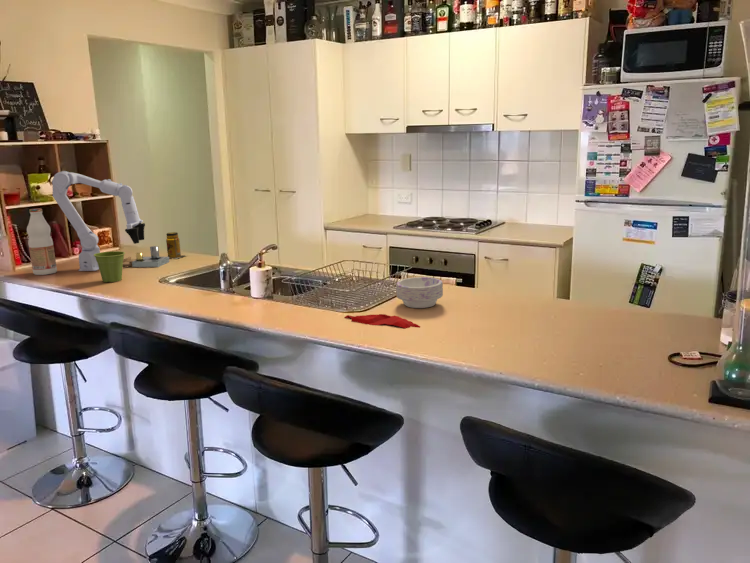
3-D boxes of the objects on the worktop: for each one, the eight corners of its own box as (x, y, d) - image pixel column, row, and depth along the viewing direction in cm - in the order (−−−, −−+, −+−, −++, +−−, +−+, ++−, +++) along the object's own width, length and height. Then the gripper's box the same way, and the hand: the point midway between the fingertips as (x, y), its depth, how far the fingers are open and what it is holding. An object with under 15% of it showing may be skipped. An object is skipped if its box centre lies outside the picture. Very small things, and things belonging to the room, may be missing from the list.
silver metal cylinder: (158, 264, 287) (156, 247, 285) (150, 264, 287) (148, 247, 286) (161, 263, 290) (159, 245, 289) (153, 263, 291) (152, 246, 289)
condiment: (164, 258, 302) (161, 233, 299) (175, 255, 310) (172, 231, 307) (176, 259, 300) (174, 234, 297) (187, 255, 307) (185, 231, 305)
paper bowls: (387, 305, 208) (386, 282, 206) (417, 296, 218) (417, 274, 216) (421, 314, 197) (421, 289, 195) (452, 304, 207) (452, 280, 206)
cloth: (432, 325, 187) (432, 317, 187) (404, 337, 177) (404, 329, 176) (365, 311, 203) (365, 305, 203) (336, 322, 193) (336, 314, 193)
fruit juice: (35, 276, 268) (25, 210, 262) (31, 273, 275) (20, 209, 269) (59, 272, 274) (50, 208, 267) (54, 269, 281) (45, 207, 275)
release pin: (141, 262, 283) (140, 253, 282) (135, 262, 283) (134, 253, 282) (144, 261, 285) (143, 252, 284) (138, 261, 286) (137, 252, 285)
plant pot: (114, 284, 248) (110, 256, 246) (90, 283, 252) (86, 255, 250) (134, 278, 259) (131, 251, 257) (111, 277, 263) (108, 250, 261)
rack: (131, 266, 284) (131, 261, 283) (116, 266, 284) (116, 262, 284) (143, 261, 295) (143, 256, 295) (129, 261, 296) (129, 257, 295)
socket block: (158, 267, 281) (157, 261, 281) (132, 267, 282) (132, 261, 282) (169, 261, 293) (168, 256, 292) (144, 261, 294) (144, 256, 294)
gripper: (134, 213, 274) (143, 243, 278) (144, 208, 288) (152, 236, 292) (118, 216, 274) (127, 246, 278) (129, 211, 288) (137, 239, 292)
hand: (139, 241), depth 285 cm, fingers open, 7 cm apart
